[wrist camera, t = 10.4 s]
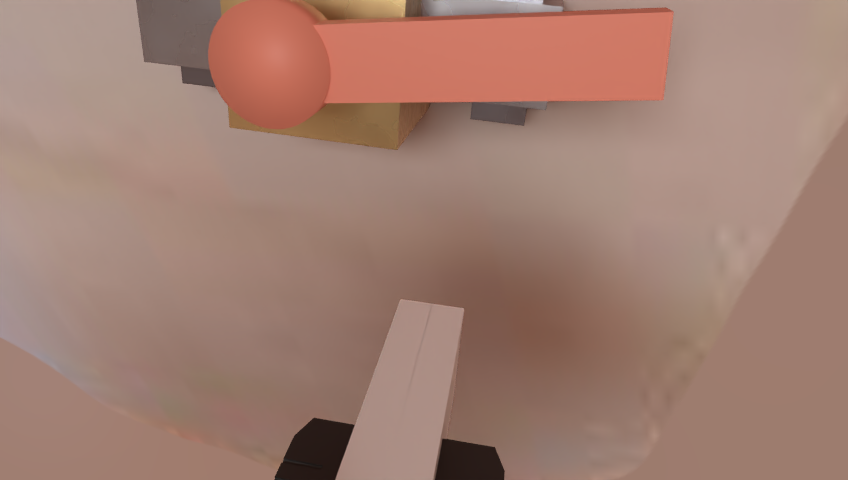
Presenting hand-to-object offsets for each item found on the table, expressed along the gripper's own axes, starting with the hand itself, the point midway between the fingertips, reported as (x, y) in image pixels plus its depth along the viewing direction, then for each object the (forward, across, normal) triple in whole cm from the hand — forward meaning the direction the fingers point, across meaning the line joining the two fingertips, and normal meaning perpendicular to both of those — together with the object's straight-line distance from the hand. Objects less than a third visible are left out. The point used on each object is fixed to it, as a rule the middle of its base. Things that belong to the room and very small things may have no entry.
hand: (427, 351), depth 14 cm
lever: (+8, -2, +5) cm, 10 cm away
